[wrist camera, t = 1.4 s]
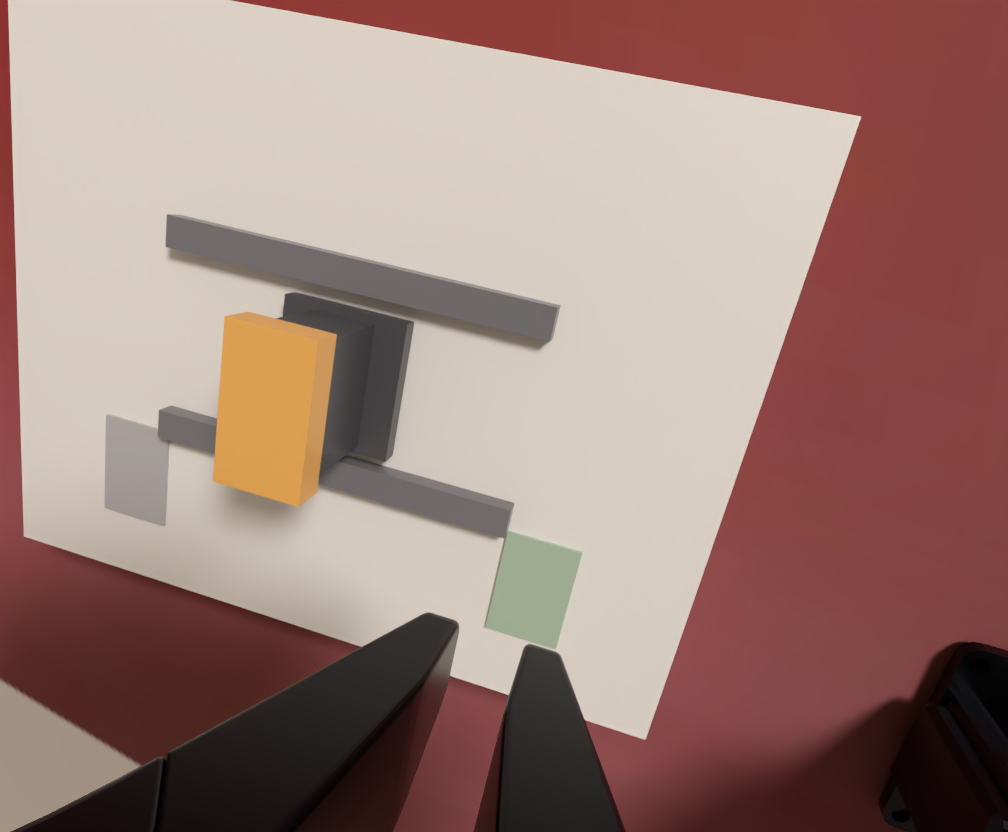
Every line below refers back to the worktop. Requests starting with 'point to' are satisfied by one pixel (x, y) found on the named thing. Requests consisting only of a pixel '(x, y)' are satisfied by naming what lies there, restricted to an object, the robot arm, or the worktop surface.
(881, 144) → the worktop surface
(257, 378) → the breaker toggle
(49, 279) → the breaker box
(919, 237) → the worktop surface
